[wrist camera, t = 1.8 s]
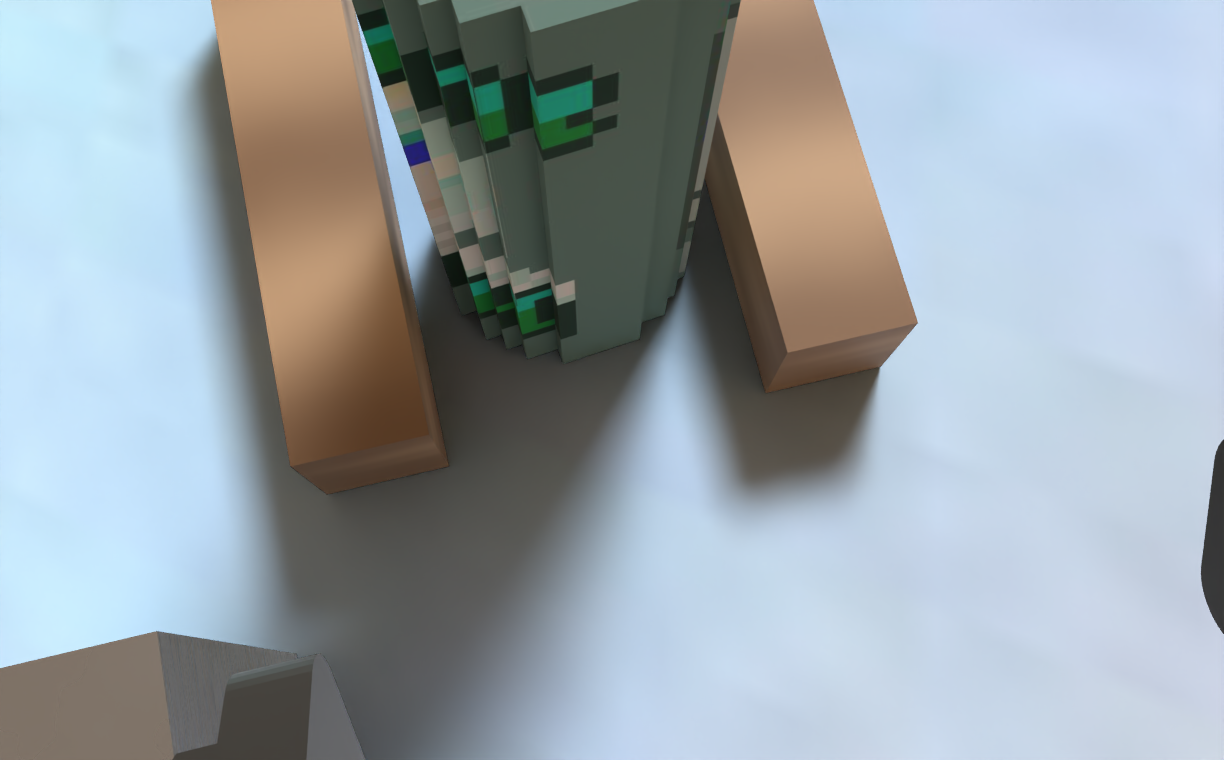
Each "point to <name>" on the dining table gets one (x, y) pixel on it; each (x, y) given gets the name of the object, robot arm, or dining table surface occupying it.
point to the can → (556, 152)
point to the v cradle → (122, 698)
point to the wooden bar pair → (377, 267)
